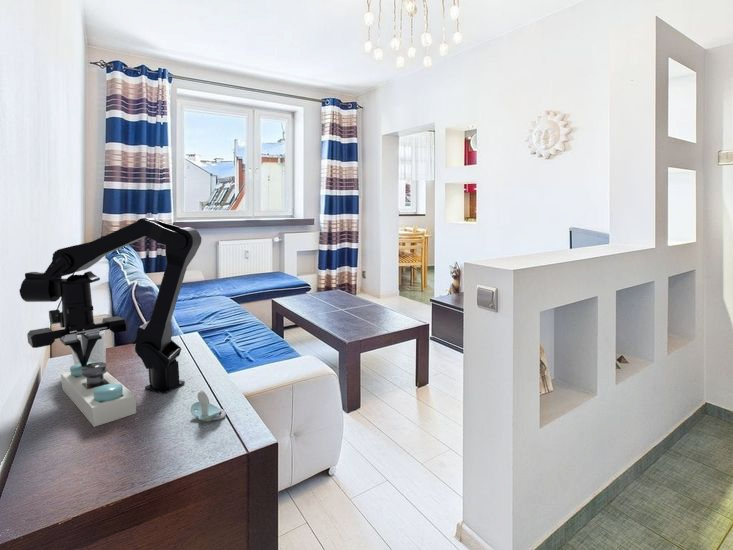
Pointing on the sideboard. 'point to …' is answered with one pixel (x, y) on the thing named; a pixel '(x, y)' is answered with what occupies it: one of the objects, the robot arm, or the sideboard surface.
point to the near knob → (108, 392)
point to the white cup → (95, 350)
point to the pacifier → (206, 409)
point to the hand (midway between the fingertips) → (83, 365)
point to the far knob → (77, 370)
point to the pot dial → (94, 374)
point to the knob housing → (95, 409)
